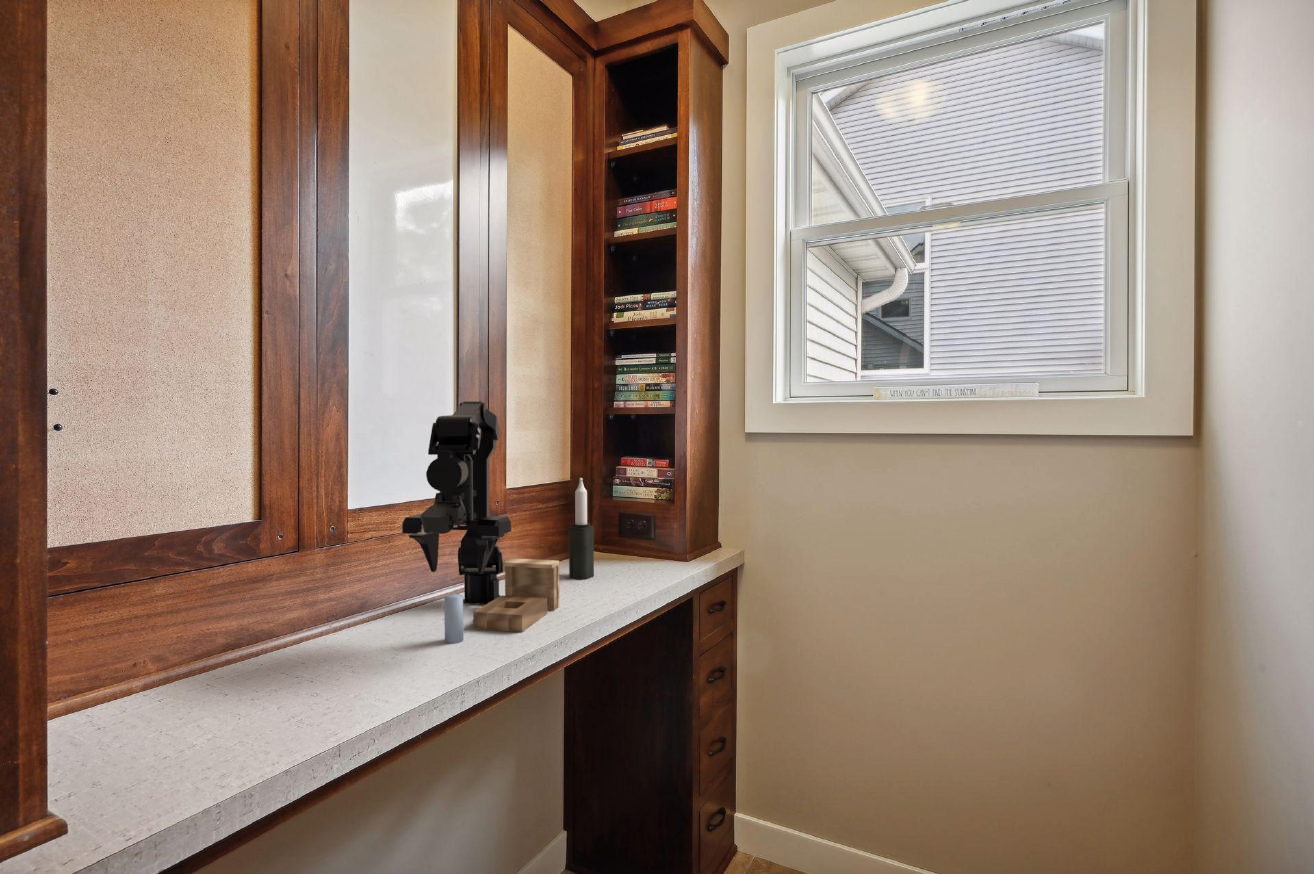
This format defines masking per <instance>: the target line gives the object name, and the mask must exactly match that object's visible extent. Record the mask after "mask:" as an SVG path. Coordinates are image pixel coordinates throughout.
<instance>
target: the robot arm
mask: <svg viewBox="0 0 1314 874" xmlns="http://www.w3.org/2000/svg"><path fill="white" fill-rule="evenodd" d="M431 426H432V427H431V432H430V438H429V439H430V440H429V445H428V451H427V452H428V453H427V454H428V456H432V455H433V456H434V455H435V456H437V457H436V458H435V459H434V460H432V461H431V462H430V463H429V465H428V466H427V469H426V472H425V475H426V480H427V483H428V485H429V486H430V487H431V488H432V489H434V490H436V491H438V492H436V493H435V496H434V503H433V504H432V505H430V506H429V507H428V508H427V509H425V510H424V511H423V512H422V513H417V514H414V515H409V516H406V517H404V519H403V521H402V522H401V533H402V534H407V535H408V538H409V539H413V540H415V542H417V543H418V545H419V546H420V548H421V550H422V552H423V554H424V556H425V560H426V561H427V564H428V567H429V569H430V572H431V573H435V572H437V571H438V570H437V569H438V563H439V562H438V561H439V545H440V535H443V534H445V535H446V534H449V533H450V532H451V531H466V532H465V534H464V535H463V536H462V538H461V540H460V546H459V547H458V550H457V563H458V575H459V576H463V578H464V593H463V594H464V595H463V596H464V598H463V604H466V605H467V604H469V605H470V604H471V605H483V606H484V605H486V604H488V603H490V602H491V601H493V600H495V599H497V598H498V597H500V596H502V595H500V580H499V578H498V575H500V574H501V573H502V574H503V573H504V566H503V562H504V558H503V552H502V551H501V550H500V546H498V544H497V543H498V541H499V539H500V538H503V537H505V534H507V533H511V532H512V521H511V520H510V518H509V517H508V516H504V515H501V516H500V515H490V458H491V457H492V456H493V454H494V452H495V450H497V449H496V448H497V441H499V439H500V425H499V421H498V416H497V415H496V414H494V413H493V412H492V411H490V410H489V409H488V408H487V404H486V402H483V401H482V400H481V401H472V400H471V401H463V402H460V403H459V406H458V408H457V409H456V411H455V412H454V413H453V414H451V415H439V416H437V418H436V420H435V422H433V423H432V425H431Z"/></svg>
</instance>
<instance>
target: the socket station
mask: <svg viewBox="0 0 1314 874" xmlns="http://www.w3.org/2000/svg"><path fill="white" fill-rule="evenodd" d="M503 567H504V594H505V595H501V596H500V597H498V598H497V599H495V600H493V601H491V602H490V603H488V604H486V605H483V606H481V607H479V608H477V609H476V610H474V611H473V612H472V614H473V616H472V618H473V619H472V621H473V626H472V627H473V629H477V630H489V631H503V632H513V633H514V632H516V633H524V631H526V630H527V629H529V628H530V627H532V626H533V625H534V624H536V623H537V622H538V621H539V620H541V619H542V618H544V617H545V616H546V615H548V611H555V610H557V609H558V608H560V560H553V559H552V560H551V559H535V558H534V559H532V558H531V559H530V558H512V557H511V558H509V559H506V560H505V561H504V560H503Z"/></svg>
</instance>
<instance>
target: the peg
mask: <svg viewBox="0 0 1314 874" xmlns="http://www.w3.org/2000/svg"><path fill="white" fill-rule="evenodd" d="M443 598H444V599H443V603H444V608H443V609H444V642H445V644H450V645H451V644H458V643H461V642H463V641H464V603H463V599H464V595H463V594H459V593H454V594H453V593H452V594H448V595H445V596H444V597H443Z"/></svg>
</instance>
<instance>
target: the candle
mask: <svg viewBox="0 0 1314 874" xmlns="http://www.w3.org/2000/svg"><path fill="white" fill-rule="evenodd" d="M578 480H579V482H578V485H577V488H576V490H575V492H574V496H575V497H574V500H575V503H574V504H575V505H574V506H575V507H574V508H575V510H574V512H575V516H574V517H575V519H574V520H575V522H573V523H572V524H571V526H568V543H569V544H568V563H569V564H568V568H569V569H568V570H569V571H568V577H569V579H577V580H580V581H582V580H588V579H590V578H591V579H592V578H594V576H595V569H594V568H595V561H594V559H595V551H594V550H595V549H594V544H595V543H594V540H595V539H594V535H595V534H594V533H595V531H594V525H591V523H590V522H588V490H587V489H586V488H585V486H584V482H583V480H584V479H583V478H582V477H580V478H579V479H578Z"/></svg>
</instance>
